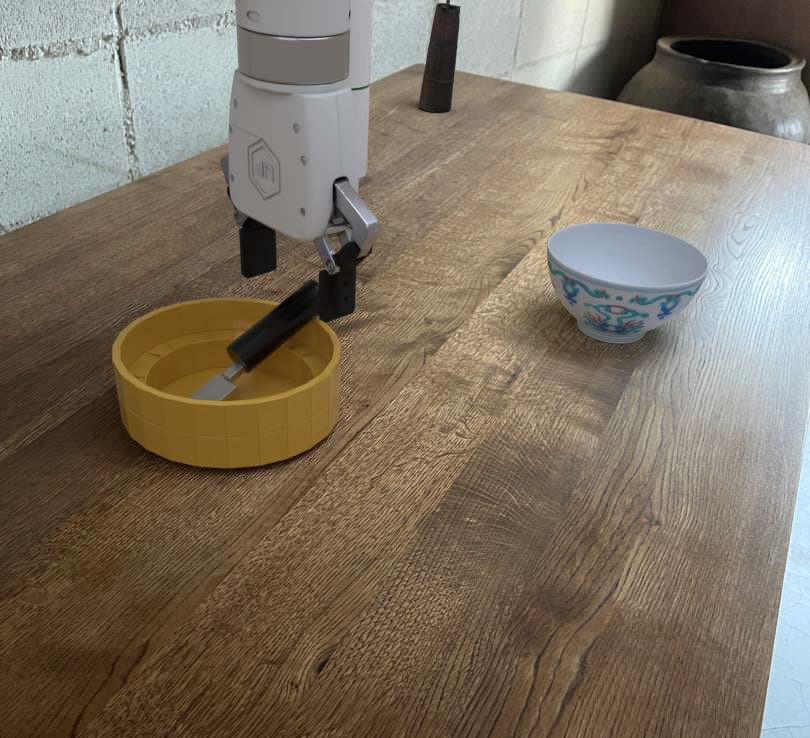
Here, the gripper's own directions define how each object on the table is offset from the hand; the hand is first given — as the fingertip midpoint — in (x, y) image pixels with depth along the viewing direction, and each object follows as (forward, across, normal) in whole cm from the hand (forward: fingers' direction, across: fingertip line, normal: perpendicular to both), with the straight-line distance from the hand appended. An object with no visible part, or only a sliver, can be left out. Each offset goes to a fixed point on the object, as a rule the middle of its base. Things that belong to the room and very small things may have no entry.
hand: (296, 294), depth 73 cm
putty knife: (+5, 0, -4) cm, 7 cm away
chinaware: (+8, +10, +31) cm, 34 cm away
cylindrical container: (+8, -40, +39) cm, 57 cm away
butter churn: (+8, -54, +71) cm, 90 cm away
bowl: (+8, 0, -7) cm, 11 cm away
